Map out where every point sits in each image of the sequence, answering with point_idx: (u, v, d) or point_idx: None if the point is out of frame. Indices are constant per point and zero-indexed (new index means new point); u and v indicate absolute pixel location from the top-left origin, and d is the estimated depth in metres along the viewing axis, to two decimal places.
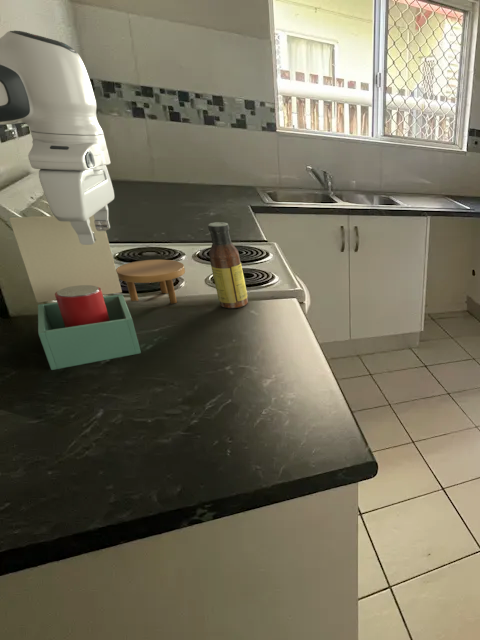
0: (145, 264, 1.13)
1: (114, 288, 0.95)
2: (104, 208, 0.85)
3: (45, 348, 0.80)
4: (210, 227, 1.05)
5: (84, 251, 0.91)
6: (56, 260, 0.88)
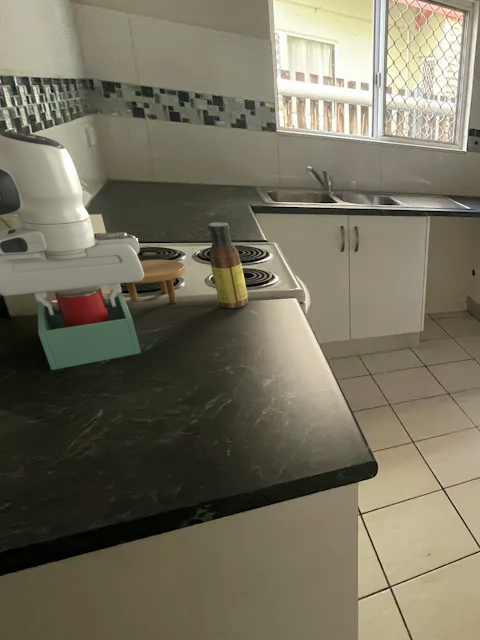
0: (145, 264, 1.13)
1: None
2: None
3: (45, 348, 0.80)
4: (210, 227, 1.05)
5: None
6: None
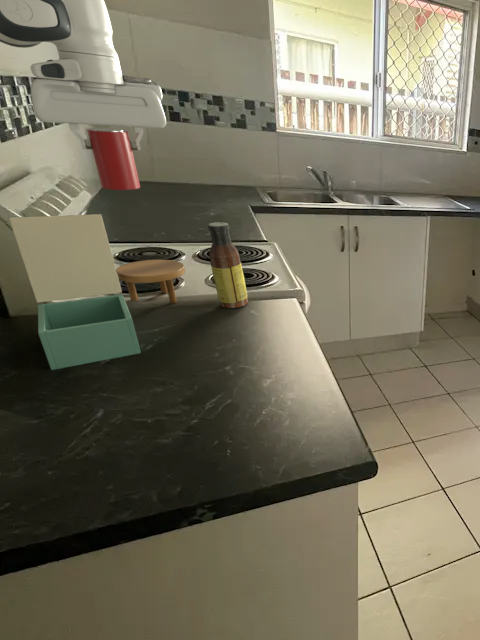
0: (145, 264, 1.13)
1: (114, 288, 0.95)
2: (134, 130, 0.97)
3: (45, 348, 0.80)
4: (210, 227, 1.05)
5: (84, 251, 0.91)
6: (56, 260, 0.88)
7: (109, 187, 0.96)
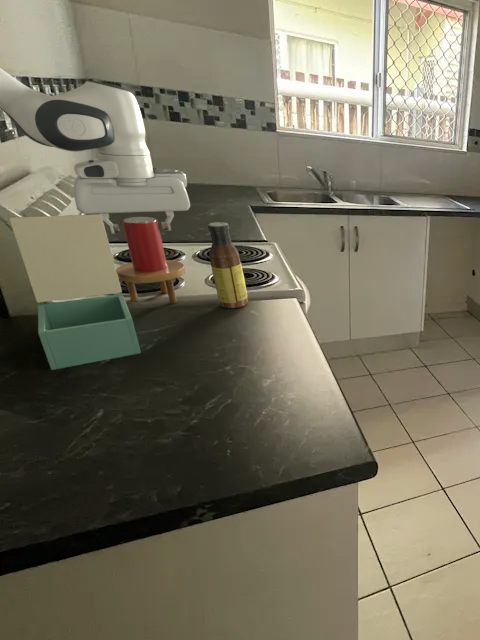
0: None
1: (114, 288, 0.95)
2: (166, 214, 1.09)
3: (45, 348, 0.80)
4: (210, 227, 1.05)
5: (84, 251, 0.91)
6: (56, 260, 0.88)
7: (140, 270, 1.08)
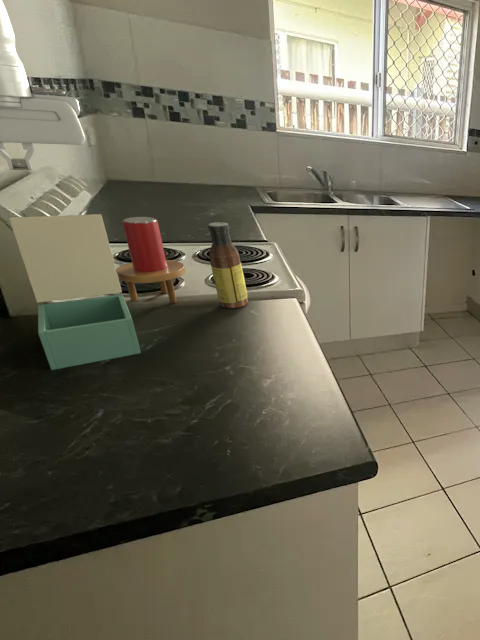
0: None
1: (114, 288, 0.95)
2: (23, 147, 0.84)
3: (45, 348, 0.80)
4: (210, 227, 1.05)
5: (84, 251, 0.91)
6: (56, 260, 0.88)
7: (140, 270, 1.08)
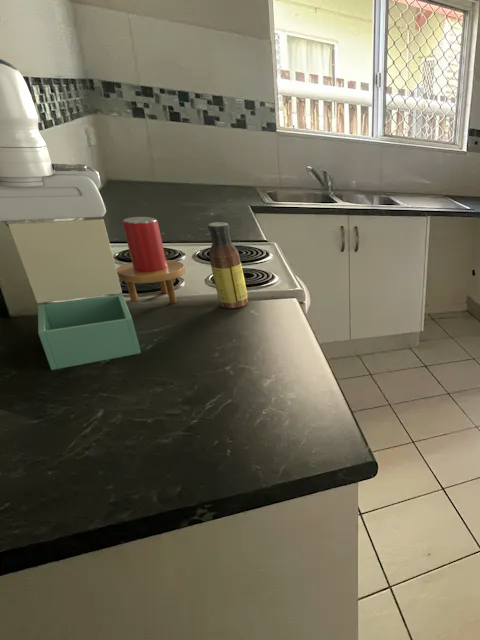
0: None
1: (114, 289, 0.95)
2: None
3: (45, 348, 0.80)
4: (210, 227, 1.05)
5: (85, 255, 0.89)
6: (57, 264, 0.87)
7: (140, 270, 1.08)
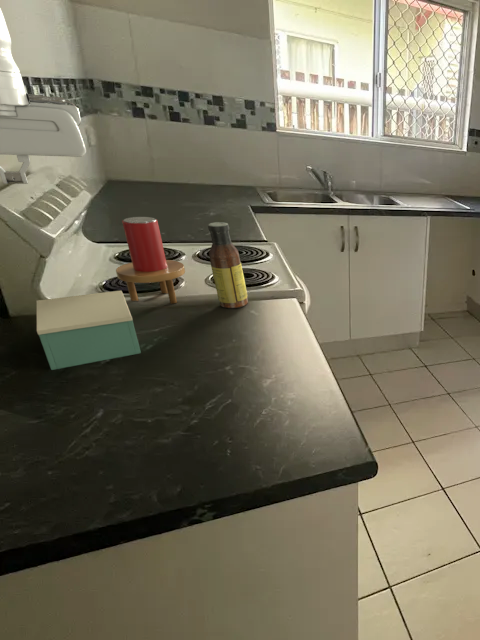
0: None
1: None
2: (18, 159, 0.77)
3: (45, 348, 0.80)
4: (210, 227, 1.05)
5: None
6: None
7: (140, 270, 1.08)
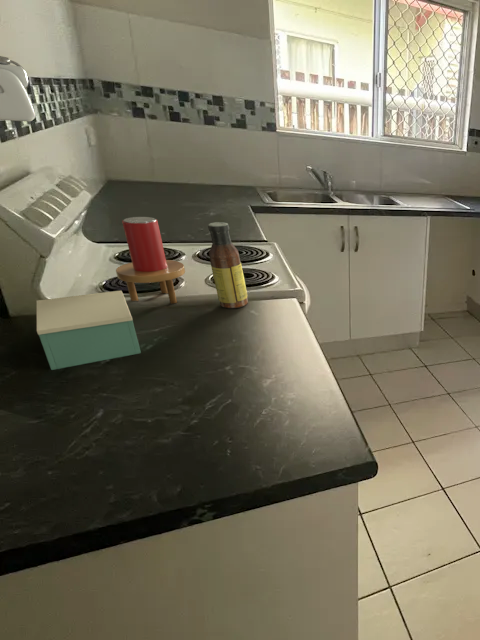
0: None
1: None
2: None
3: (45, 348, 0.80)
4: (210, 227, 1.05)
5: None
6: None
7: (140, 270, 1.08)
